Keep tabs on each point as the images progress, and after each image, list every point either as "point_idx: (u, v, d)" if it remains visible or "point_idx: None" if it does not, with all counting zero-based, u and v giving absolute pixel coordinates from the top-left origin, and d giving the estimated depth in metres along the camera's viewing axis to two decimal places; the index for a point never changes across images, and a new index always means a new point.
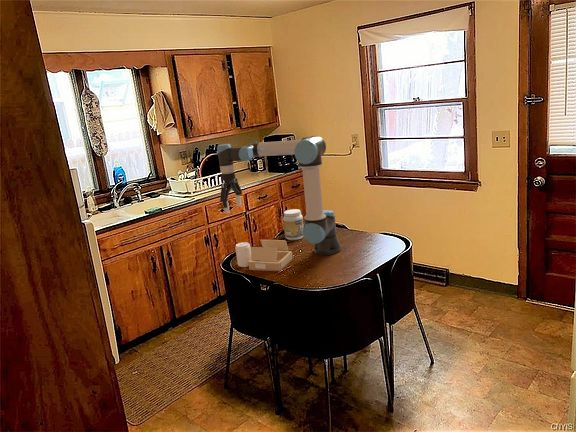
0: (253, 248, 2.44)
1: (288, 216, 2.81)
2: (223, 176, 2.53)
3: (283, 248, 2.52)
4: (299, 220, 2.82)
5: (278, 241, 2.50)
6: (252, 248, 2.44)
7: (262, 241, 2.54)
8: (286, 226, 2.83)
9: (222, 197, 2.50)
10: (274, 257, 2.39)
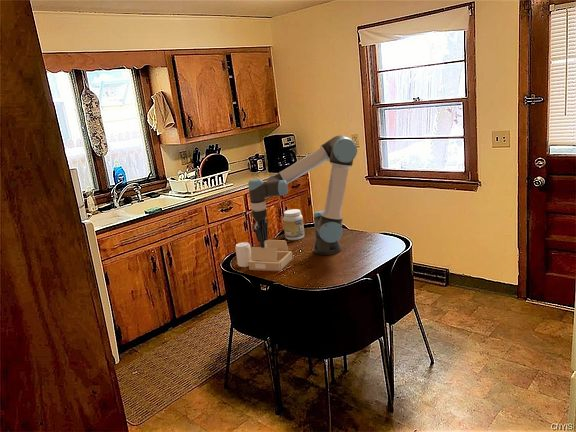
0: (253, 248, 2.44)
1: (288, 216, 2.81)
2: (254, 214, 2.34)
3: (283, 248, 2.52)
4: (299, 220, 2.82)
5: (278, 241, 2.50)
6: (252, 248, 2.44)
7: None
8: (286, 226, 2.83)
9: (259, 238, 2.37)
10: (274, 257, 2.39)
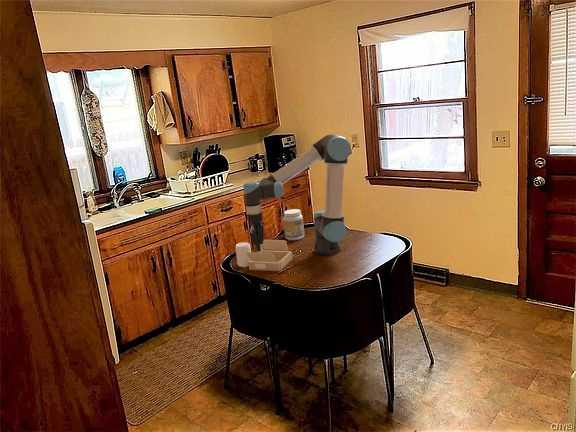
0: (248, 253, 2.39)
1: (288, 216, 2.81)
2: (250, 217, 2.30)
3: (283, 248, 2.52)
4: (299, 220, 2.82)
5: (278, 241, 2.50)
6: (247, 253, 2.40)
7: (262, 241, 2.54)
8: (286, 226, 2.83)
9: (255, 242, 2.33)
10: (272, 259, 2.37)
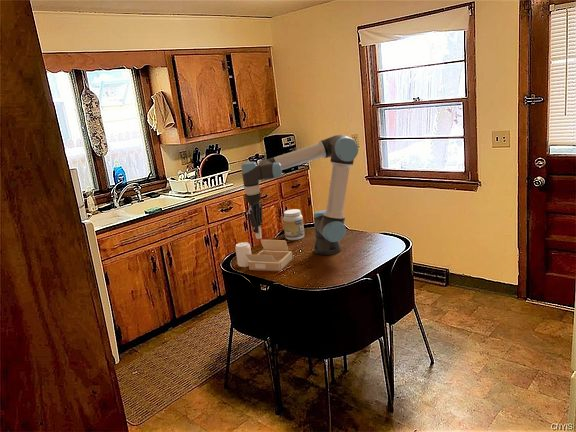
0: (248, 255, 2.39)
1: (288, 216, 2.81)
2: (248, 198, 2.28)
3: (283, 248, 2.52)
4: (299, 220, 2.82)
5: (278, 241, 2.50)
6: (247, 255, 2.39)
7: (262, 241, 2.54)
8: (286, 226, 2.83)
9: (253, 223, 2.30)
10: (272, 260, 2.37)
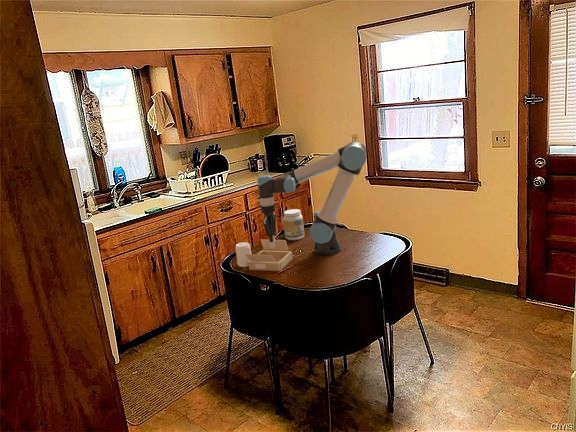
0: (248, 255, 2.39)
1: (288, 216, 2.81)
2: (263, 209, 2.42)
3: (283, 248, 2.52)
4: (299, 220, 2.82)
5: (278, 241, 2.50)
6: (247, 255, 2.39)
7: (262, 241, 2.54)
8: (286, 226, 2.83)
9: (268, 233, 2.45)
10: (272, 260, 2.37)
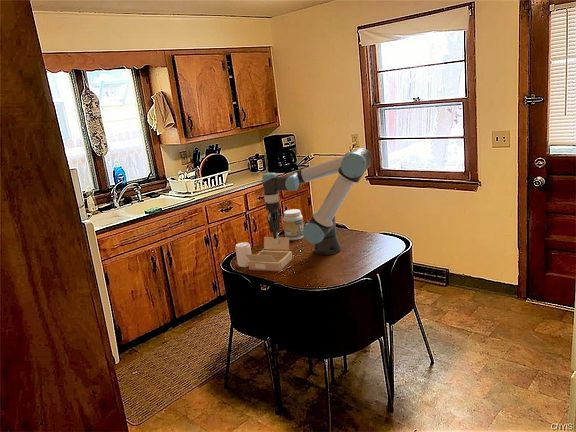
0: (248, 255, 2.39)
1: (288, 216, 2.81)
2: (267, 205, 2.47)
3: (284, 247, 2.53)
4: (299, 220, 2.82)
5: (281, 238, 2.54)
6: (247, 255, 2.39)
7: (265, 238, 2.58)
8: (286, 226, 2.83)
9: (271, 229, 2.49)
10: (272, 260, 2.37)
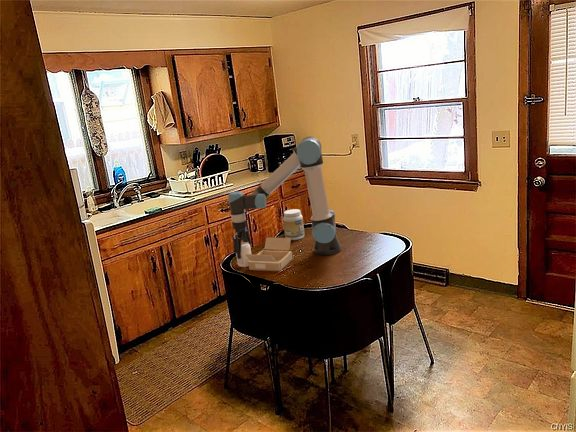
0: (248, 255, 2.39)
1: (288, 216, 2.81)
2: (234, 225, 2.44)
3: (284, 247, 2.54)
4: (299, 220, 2.82)
5: (283, 239, 2.56)
6: (247, 255, 2.39)
7: (267, 239, 2.60)
8: (286, 226, 2.83)
9: (235, 249, 2.44)
10: (272, 260, 2.37)
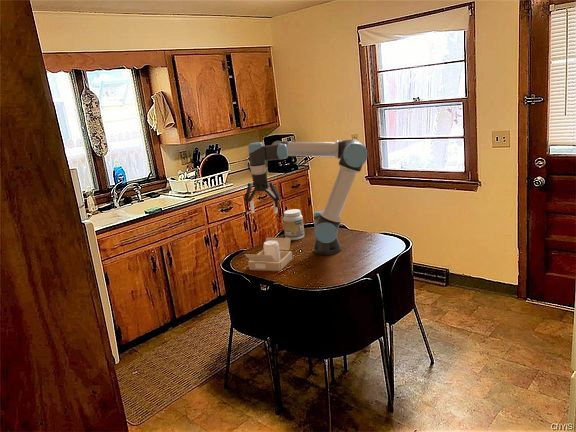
0: (248, 255, 2.39)
1: (288, 216, 2.81)
2: None
3: (284, 247, 2.54)
4: (299, 220, 2.82)
5: (283, 239, 2.56)
6: (247, 255, 2.39)
7: (267, 239, 2.60)
8: (286, 226, 2.83)
9: None
10: (272, 260, 2.37)
